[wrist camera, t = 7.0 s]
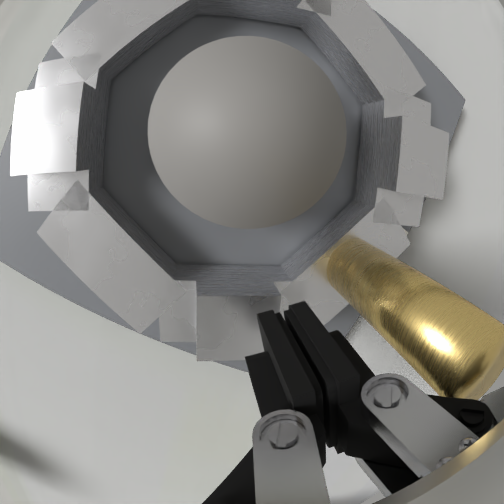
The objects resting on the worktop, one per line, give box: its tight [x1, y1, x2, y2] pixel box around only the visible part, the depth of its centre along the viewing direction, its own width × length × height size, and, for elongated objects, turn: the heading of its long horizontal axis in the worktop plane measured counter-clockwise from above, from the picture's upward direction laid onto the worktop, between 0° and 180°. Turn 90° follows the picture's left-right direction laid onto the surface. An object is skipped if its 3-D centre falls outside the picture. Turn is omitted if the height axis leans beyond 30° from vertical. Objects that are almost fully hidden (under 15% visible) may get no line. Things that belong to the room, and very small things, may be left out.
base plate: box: [0, 0, 465, 372], centre depth 12 cm, size 22×22×5 cm
